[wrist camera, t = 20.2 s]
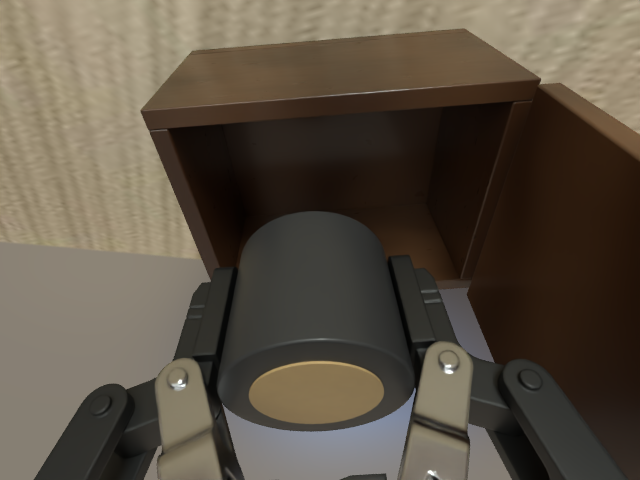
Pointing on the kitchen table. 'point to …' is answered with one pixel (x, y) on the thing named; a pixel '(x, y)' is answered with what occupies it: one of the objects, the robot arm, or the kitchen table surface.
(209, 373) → the robot arm
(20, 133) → the kitchen table surface
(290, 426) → the dark grey short cylinder
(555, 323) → the lid
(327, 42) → the box
